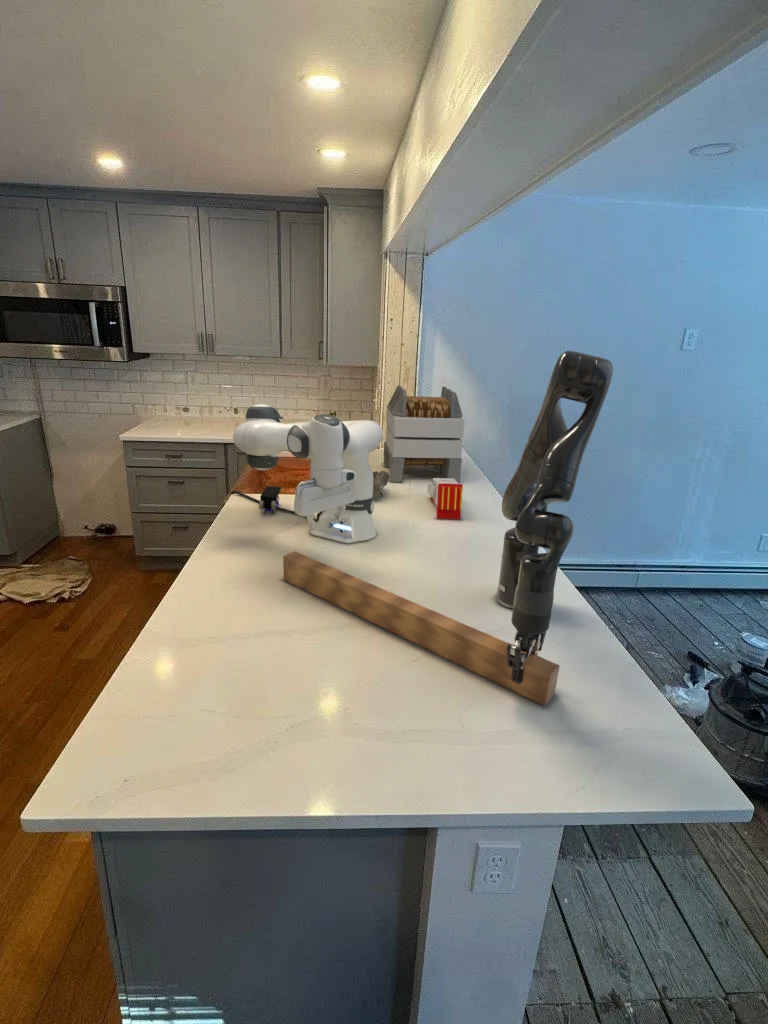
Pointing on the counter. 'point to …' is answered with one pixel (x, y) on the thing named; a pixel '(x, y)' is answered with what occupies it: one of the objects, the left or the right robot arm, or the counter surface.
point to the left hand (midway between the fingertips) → (325, 523)
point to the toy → (446, 497)
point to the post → (422, 626)
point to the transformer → (423, 433)
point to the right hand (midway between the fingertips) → (522, 675)
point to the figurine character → (269, 499)
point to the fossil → (379, 481)
